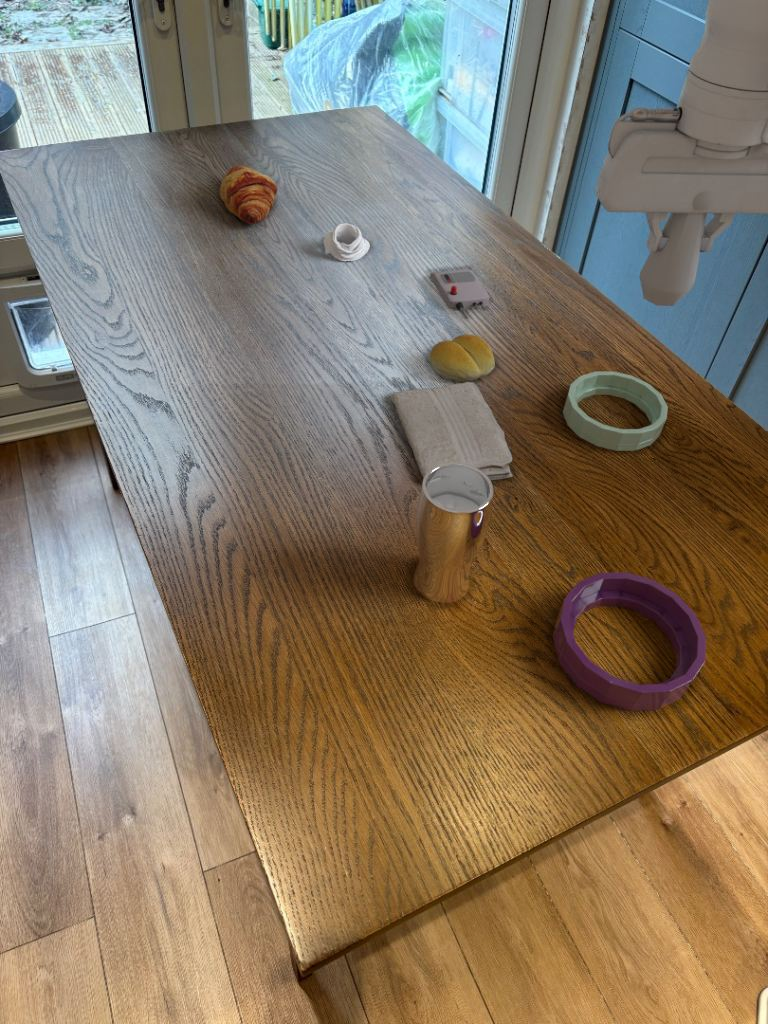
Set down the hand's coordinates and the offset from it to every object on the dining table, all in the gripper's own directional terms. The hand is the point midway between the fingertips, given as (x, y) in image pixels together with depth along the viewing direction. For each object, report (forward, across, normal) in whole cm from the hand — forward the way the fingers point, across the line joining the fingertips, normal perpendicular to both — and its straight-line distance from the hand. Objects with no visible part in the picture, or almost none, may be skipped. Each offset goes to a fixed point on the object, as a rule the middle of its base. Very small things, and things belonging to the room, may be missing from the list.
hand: (677, 249), depth 79 cm
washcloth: (+26, -22, -1) cm, 34 cm away
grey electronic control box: (+26, -15, +34) cm, 45 cm away
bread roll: (+26, -18, +15) cm, 35 cm away
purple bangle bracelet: (+26, -9, -33) cm, 43 cm away
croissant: (+25, -50, +64) cm, 85 cm away
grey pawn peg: (+6, 0, 0) cm, 6 cm away
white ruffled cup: (+26, -33, +47) cm, 63 cm away
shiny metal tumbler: (+26, -26, -24) cm, 44 cm away
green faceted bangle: (+26, 0, +2) cm, 26 cm away
